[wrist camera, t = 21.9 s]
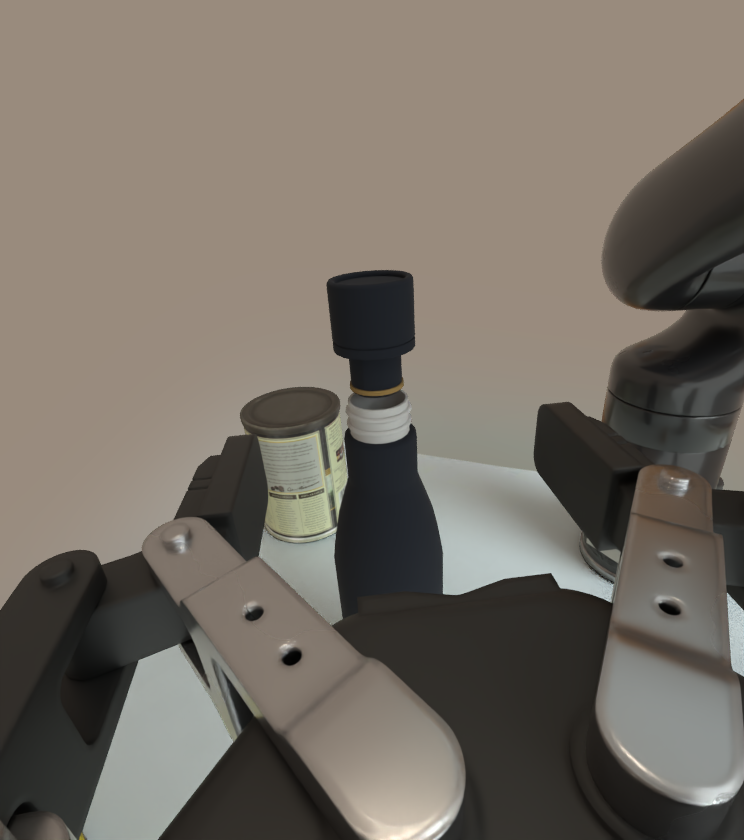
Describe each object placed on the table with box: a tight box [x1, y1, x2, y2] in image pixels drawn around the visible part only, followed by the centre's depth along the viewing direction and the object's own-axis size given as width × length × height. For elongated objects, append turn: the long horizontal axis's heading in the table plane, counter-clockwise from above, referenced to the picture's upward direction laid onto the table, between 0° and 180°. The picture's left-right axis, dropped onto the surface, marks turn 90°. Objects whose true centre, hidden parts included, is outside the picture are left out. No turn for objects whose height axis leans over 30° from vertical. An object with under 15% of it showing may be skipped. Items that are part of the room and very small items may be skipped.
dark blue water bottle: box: [327, 270, 443, 619], centre depth 27 cm, size 6×6×30 cm
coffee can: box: [240, 387, 347, 543], centre depth 51 cm, size 10×10×14 cm
